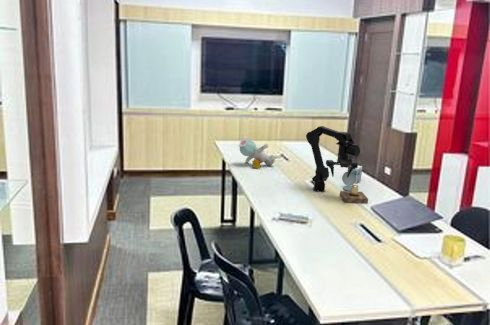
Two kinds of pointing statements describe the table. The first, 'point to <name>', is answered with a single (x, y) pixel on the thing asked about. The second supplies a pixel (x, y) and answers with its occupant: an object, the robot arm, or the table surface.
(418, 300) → the table surface
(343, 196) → the jig block
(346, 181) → the pocket watch
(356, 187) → the gold cylinder
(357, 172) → the light bulb box
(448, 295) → the table surface
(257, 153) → the toy
